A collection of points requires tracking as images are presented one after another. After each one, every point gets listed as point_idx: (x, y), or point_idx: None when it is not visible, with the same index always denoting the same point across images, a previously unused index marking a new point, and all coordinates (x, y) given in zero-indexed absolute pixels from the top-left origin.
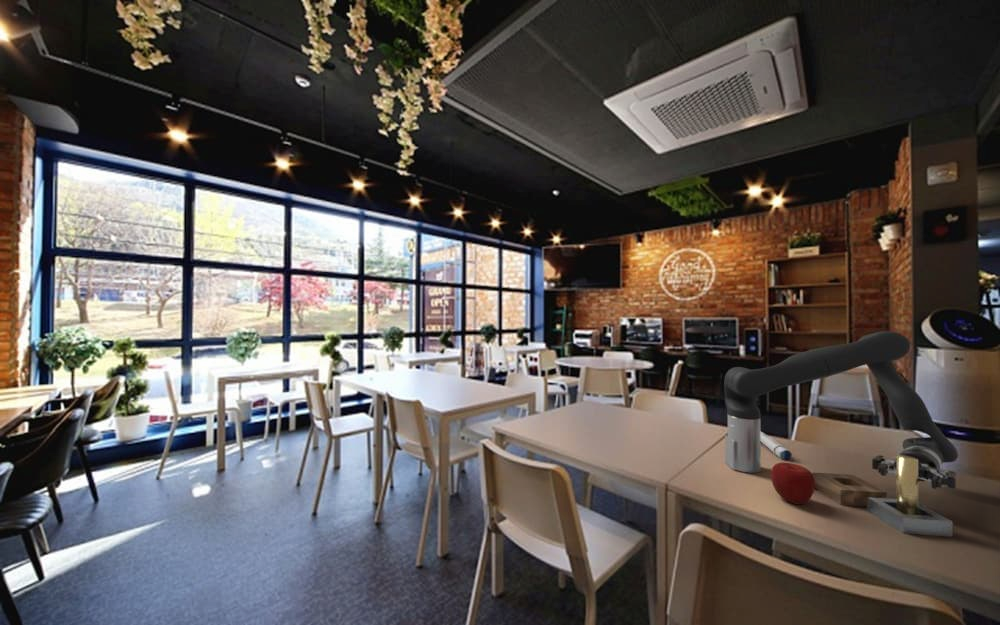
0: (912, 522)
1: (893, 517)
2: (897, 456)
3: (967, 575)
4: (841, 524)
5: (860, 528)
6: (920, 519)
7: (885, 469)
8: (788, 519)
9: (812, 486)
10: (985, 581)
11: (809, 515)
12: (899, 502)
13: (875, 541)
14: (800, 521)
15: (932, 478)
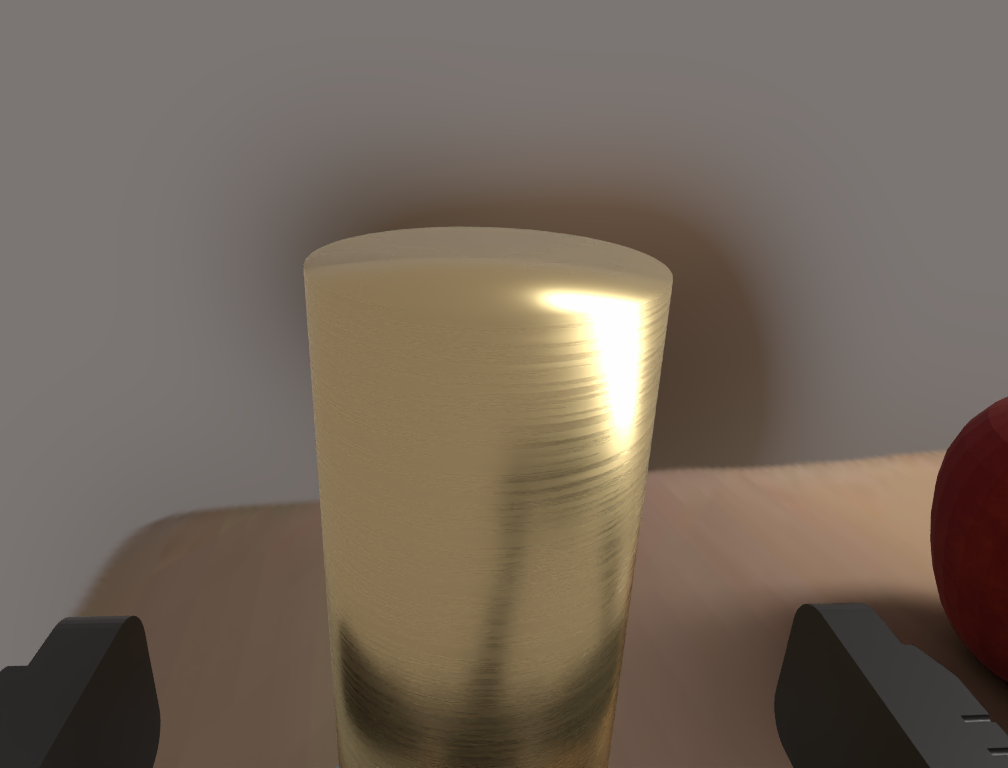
0: None
1: None
2: (623, 250)
3: (186, 554)
4: (691, 596)
5: None
6: (337, 765)
7: (830, 688)
8: (802, 485)
9: (950, 505)
10: (127, 558)
11: (822, 571)
12: None
13: None
14: (774, 501)
15: (103, 641)
